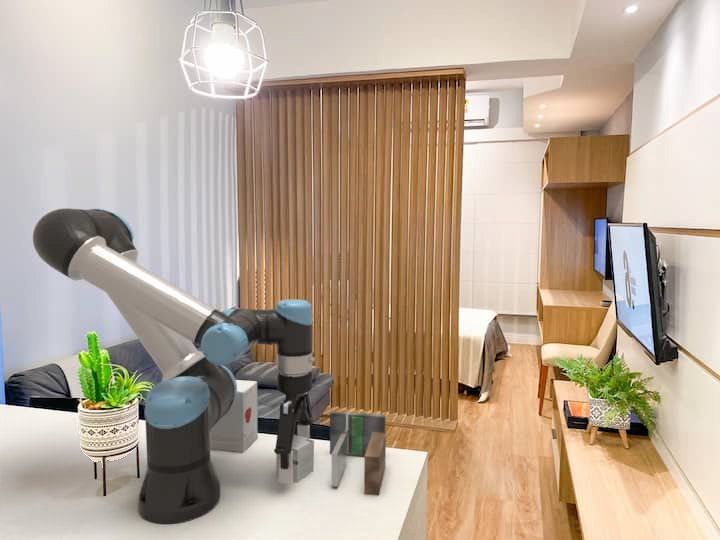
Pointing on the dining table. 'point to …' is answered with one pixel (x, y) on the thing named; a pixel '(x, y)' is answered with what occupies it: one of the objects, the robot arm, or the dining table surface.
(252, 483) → the dining table surface
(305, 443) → the skincare box
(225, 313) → the robot arm
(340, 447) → the plate
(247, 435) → the supplement box
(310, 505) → the dining table surface
